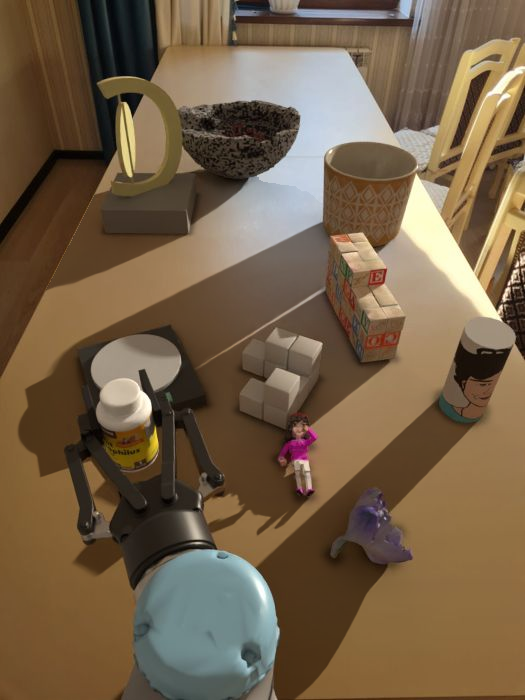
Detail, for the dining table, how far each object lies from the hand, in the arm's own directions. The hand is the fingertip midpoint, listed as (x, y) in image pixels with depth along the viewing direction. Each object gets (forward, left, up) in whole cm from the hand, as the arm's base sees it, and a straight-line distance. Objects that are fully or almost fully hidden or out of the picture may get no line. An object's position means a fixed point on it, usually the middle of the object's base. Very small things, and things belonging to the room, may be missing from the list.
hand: (115, 386), depth 60 cm
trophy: (+22, +72, -19) cm, 77 cm away
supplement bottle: (0, -5, -6) cm, 8 cm away
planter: (+63, +46, -19) cm, 80 cm away
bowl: (+49, +85, -19) cm, 100 cm away
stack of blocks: (+45, +18, -19) cm, 52 cm away
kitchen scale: (+5, +19, -19) cm, 27 cm away
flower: (+23, -20, -19) cm, 36 cm away
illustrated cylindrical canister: (+49, -6, -19) cm, 53 cm away
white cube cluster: (+23, +9, -19) cm, 31 cm away
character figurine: (+21, -5, -19) cm, 29 cm away
